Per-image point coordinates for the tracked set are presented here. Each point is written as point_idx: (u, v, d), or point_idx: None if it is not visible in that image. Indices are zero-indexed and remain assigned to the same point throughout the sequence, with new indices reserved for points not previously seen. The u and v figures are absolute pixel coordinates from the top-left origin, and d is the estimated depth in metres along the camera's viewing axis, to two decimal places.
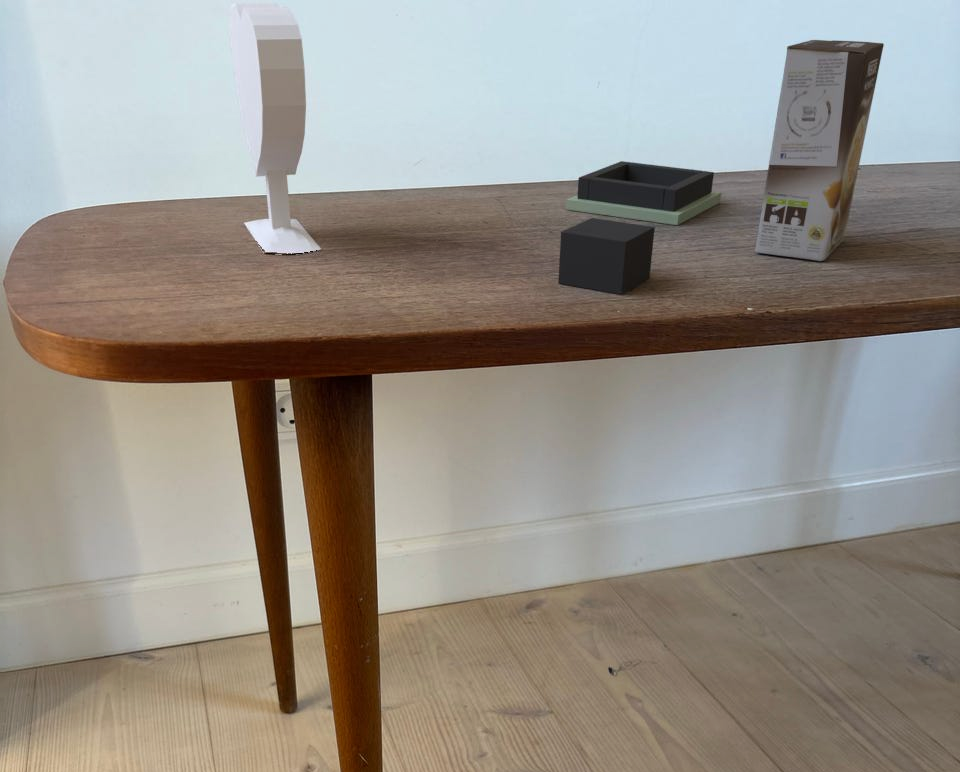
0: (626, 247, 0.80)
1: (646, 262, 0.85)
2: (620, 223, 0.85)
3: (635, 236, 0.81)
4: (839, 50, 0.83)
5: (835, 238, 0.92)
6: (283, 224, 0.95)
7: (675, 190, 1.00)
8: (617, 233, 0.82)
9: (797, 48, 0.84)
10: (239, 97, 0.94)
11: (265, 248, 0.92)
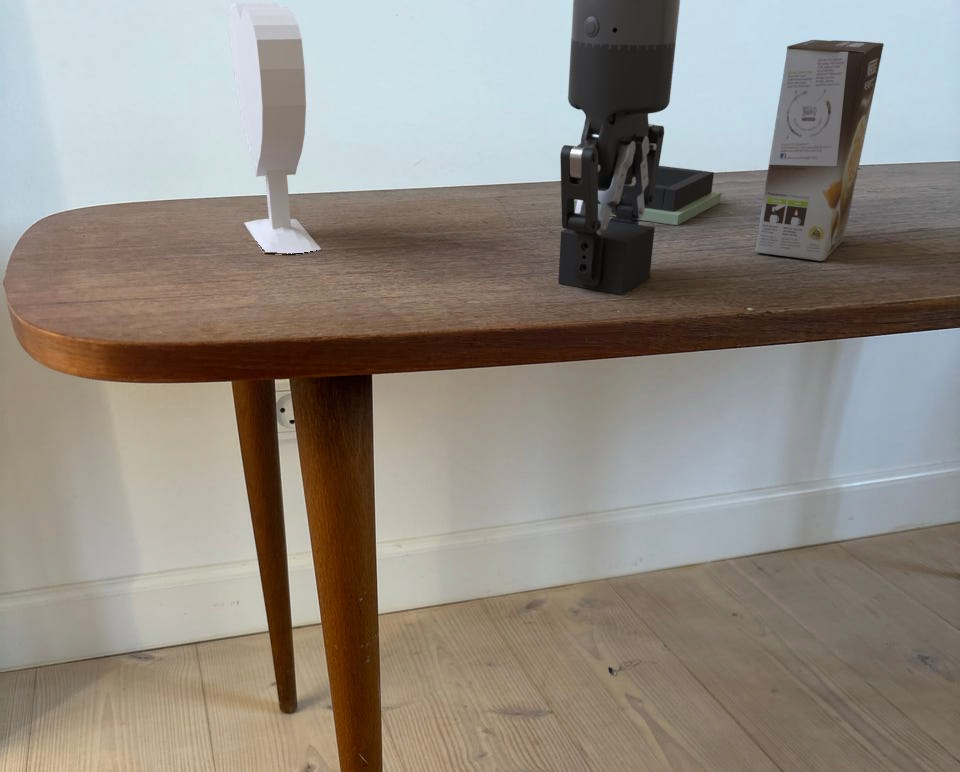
0: (626, 247, 0.80)
1: (646, 262, 0.85)
2: (620, 223, 0.85)
3: (635, 236, 0.81)
4: (839, 50, 0.83)
5: (835, 238, 0.92)
6: (283, 224, 0.95)
7: (675, 190, 1.00)
8: (617, 233, 0.82)
9: (797, 48, 0.84)
10: (239, 97, 0.94)
11: (265, 248, 0.92)
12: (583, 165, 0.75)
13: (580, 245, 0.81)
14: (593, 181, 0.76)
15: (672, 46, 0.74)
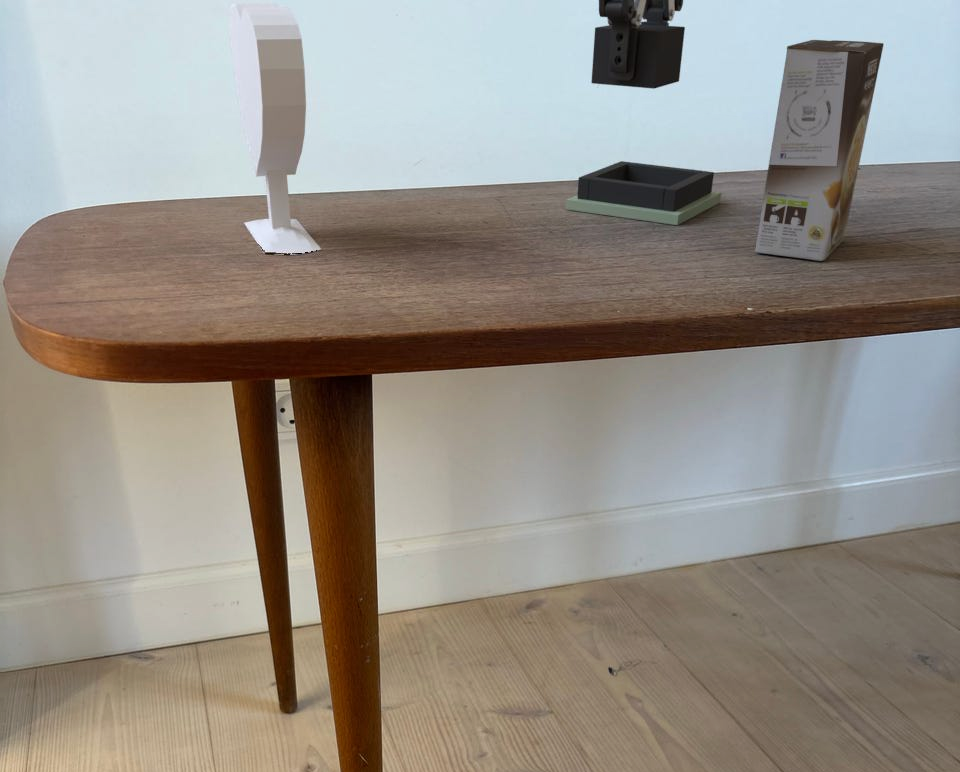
0: (660, 38, 0.83)
1: (676, 62, 0.87)
2: (651, 25, 0.87)
3: (667, 29, 0.84)
4: (839, 50, 0.83)
5: (835, 238, 0.92)
6: (283, 224, 0.95)
7: (675, 190, 1.00)
8: (650, 28, 0.84)
9: (797, 48, 0.84)
10: (239, 97, 0.94)
11: (265, 248, 0.92)
12: None
13: (615, 36, 0.83)
14: None
15: None
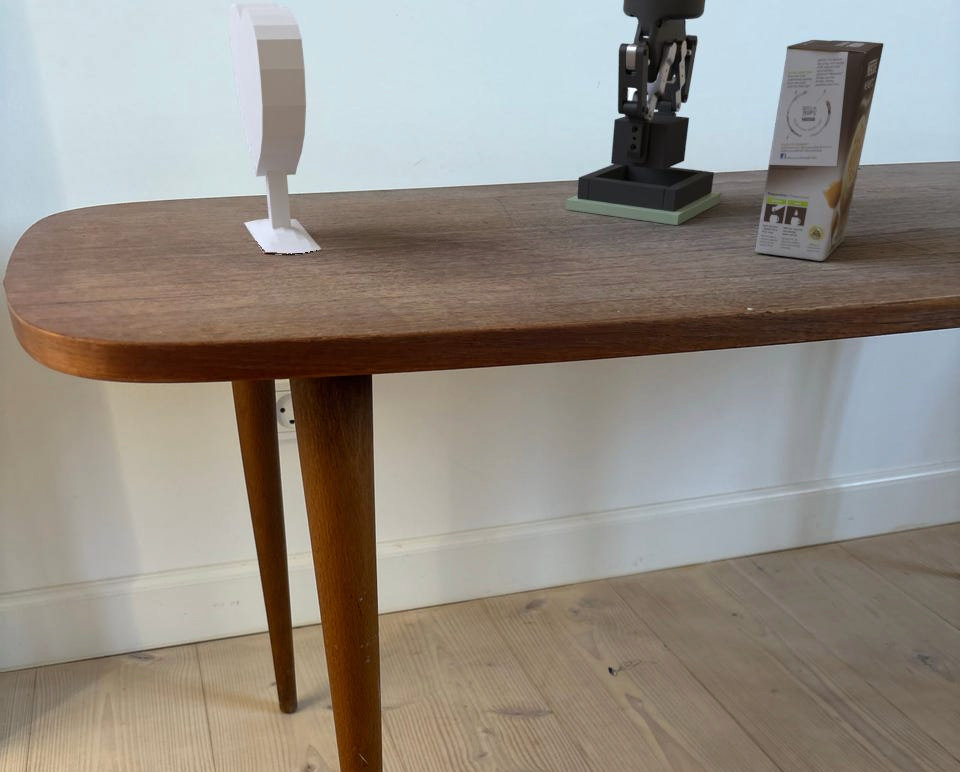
0: (668, 130, 1.01)
1: (682, 146, 1.05)
2: (661, 115, 1.05)
3: (674, 122, 1.02)
4: (839, 50, 0.83)
5: (835, 238, 0.92)
6: (283, 224, 0.95)
7: (675, 190, 1.00)
8: (659, 120, 1.02)
9: (797, 48, 0.84)
10: (239, 97, 0.94)
11: (265, 248, 0.92)
12: (637, 58, 0.95)
13: (631, 128, 1.01)
14: (644, 72, 0.96)
15: None
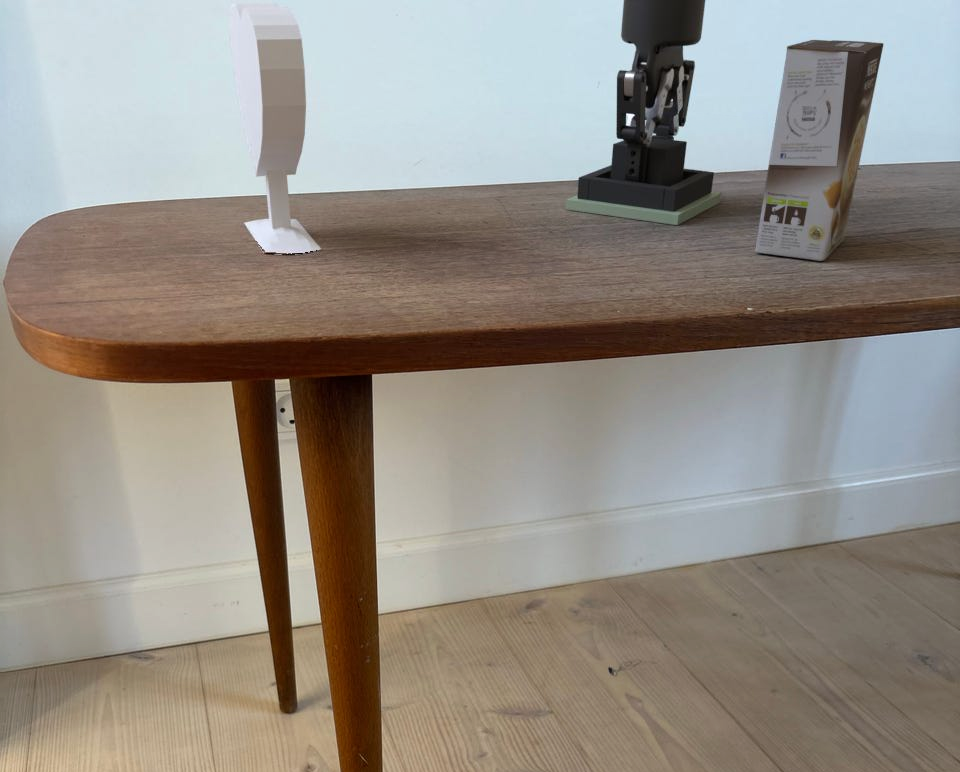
0: (665, 154, 1.02)
1: (680, 170, 1.06)
2: (659, 139, 1.06)
3: (672, 146, 1.03)
4: (839, 50, 0.83)
5: (835, 238, 0.92)
6: (283, 224, 0.95)
7: (675, 190, 1.00)
8: (657, 145, 1.03)
9: (797, 48, 0.84)
10: (239, 97, 0.94)
11: (265, 248, 0.92)
12: (635, 85, 0.96)
13: (630, 153, 1.02)
14: (642, 99, 0.97)
15: None
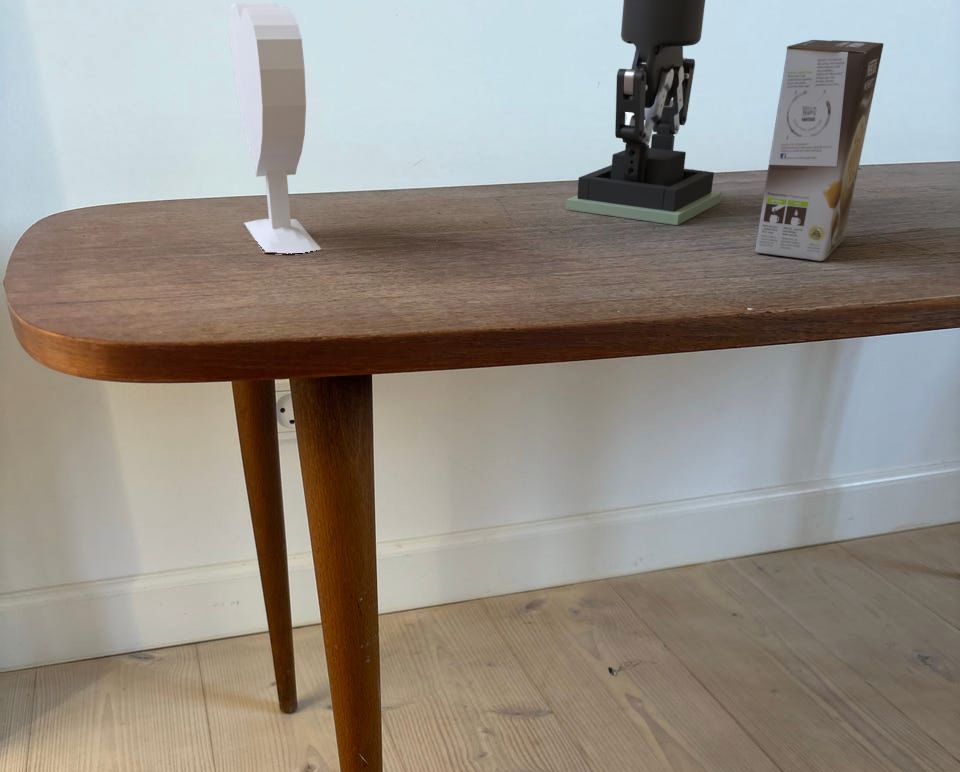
0: (665, 165, 1.02)
1: (679, 180, 1.07)
2: (658, 149, 1.07)
3: (671, 157, 1.03)
4: (839, 50, 0.83)
5: (835, 238, 0.92)
6: (283, 224, 0.95)
7: (675, 190, 1.00)
8: (657, 155, 1.04)
9: (797, 48, 0.84)
10: (239, 97, 0.94)
11: (265, 248, 0.92)
12: (634, 83, 0.96)
13: (628, 152, 1.02)
14: (641, 97, 0.97)
15: None
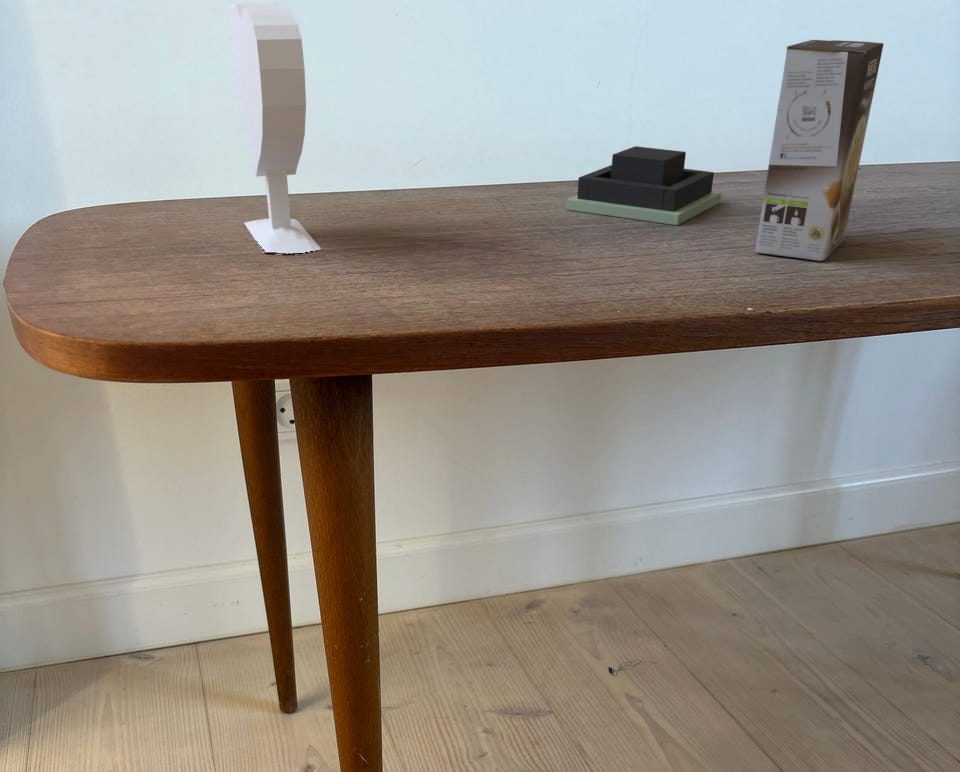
0: (665, 165, 1.02)
1: (679, 180, 1.07)
2: (658, 149, 1.07)
3: (671, 157, 1.03)
4: (839, 50, 0.83)
5: (835, 238, 0.92)
6: (283, 224, 0.95)
7: (675, 190, 1.00)
8: (657, 155, 1.04)
9: (797, 48, 0.84)
10: (239, 97, 0.94)
11: (265, 248, 0.92)
12: None
13: None
14: None
15: None
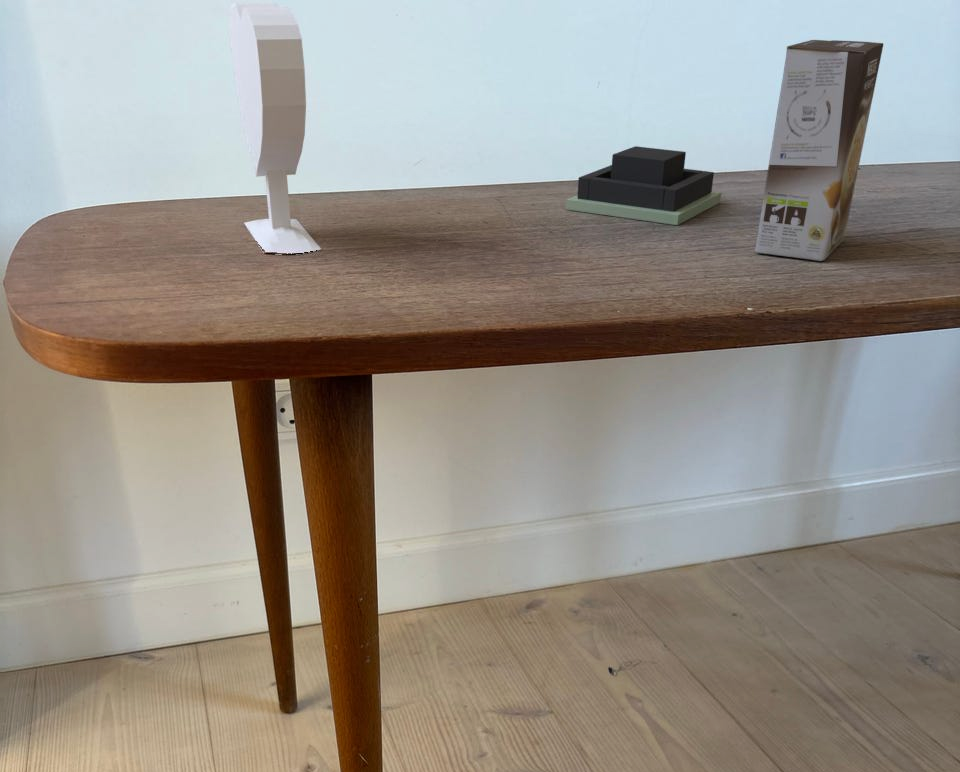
0: (665, 165, 1.02)
1: (679, 180, 1.07)
2: (658, 149, 1.07)
3: (671, 157, 1.03)
4: (839, 50, 0.83)
5: (835, 238, 0.92)
6: (283, 224, 0.95)
7: (675, 190, 1.00)
8: (657, 155, 1.04)
9: (797, 48, 0.84)
10: (239, 97, 0.94)
11: (265, 248, 0.92)
12: None
13: None
14: None
15: None
